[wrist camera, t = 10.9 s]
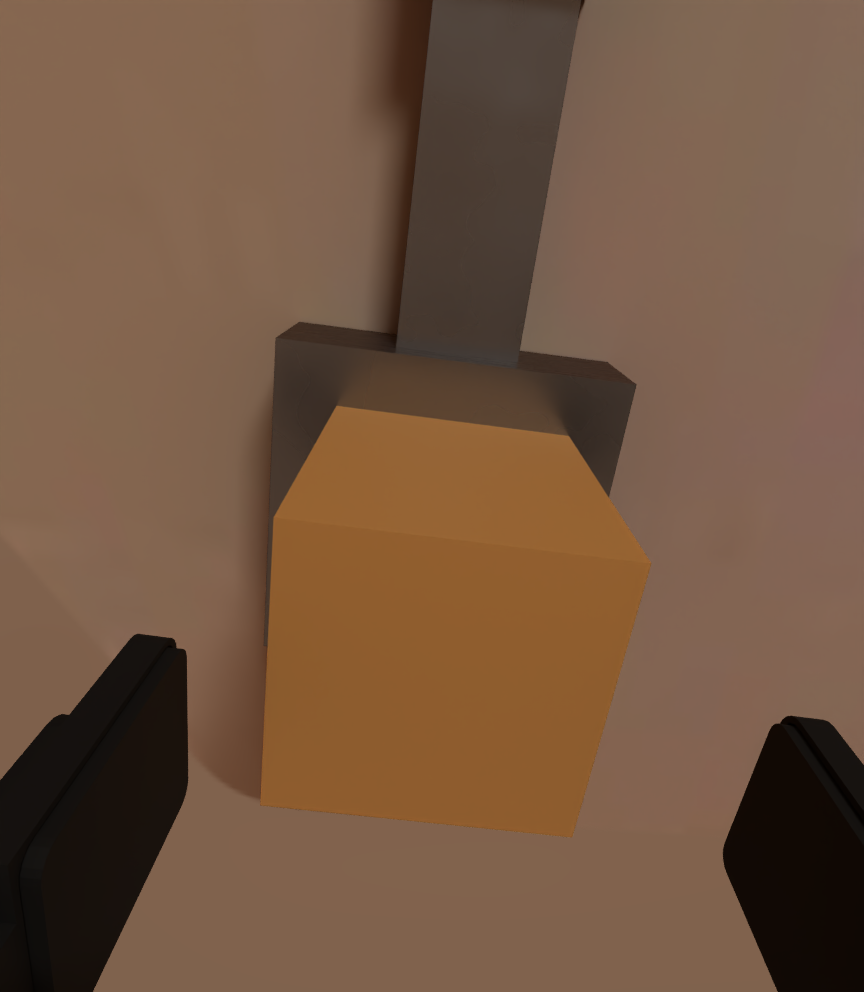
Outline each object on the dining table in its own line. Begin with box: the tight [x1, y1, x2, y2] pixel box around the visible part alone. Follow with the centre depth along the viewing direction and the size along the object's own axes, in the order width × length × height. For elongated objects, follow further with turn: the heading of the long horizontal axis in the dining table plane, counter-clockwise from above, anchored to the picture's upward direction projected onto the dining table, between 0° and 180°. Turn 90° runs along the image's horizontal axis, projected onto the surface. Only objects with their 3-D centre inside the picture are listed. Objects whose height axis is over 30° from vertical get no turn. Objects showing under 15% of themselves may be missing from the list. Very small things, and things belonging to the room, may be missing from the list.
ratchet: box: [264, 0, 636, 646], centre depth 14 cm, size 29×9×6 cm, turn 173°
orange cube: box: [260, 406, 651, 837], centre depth 15 cm, size 6×6×7 cm
